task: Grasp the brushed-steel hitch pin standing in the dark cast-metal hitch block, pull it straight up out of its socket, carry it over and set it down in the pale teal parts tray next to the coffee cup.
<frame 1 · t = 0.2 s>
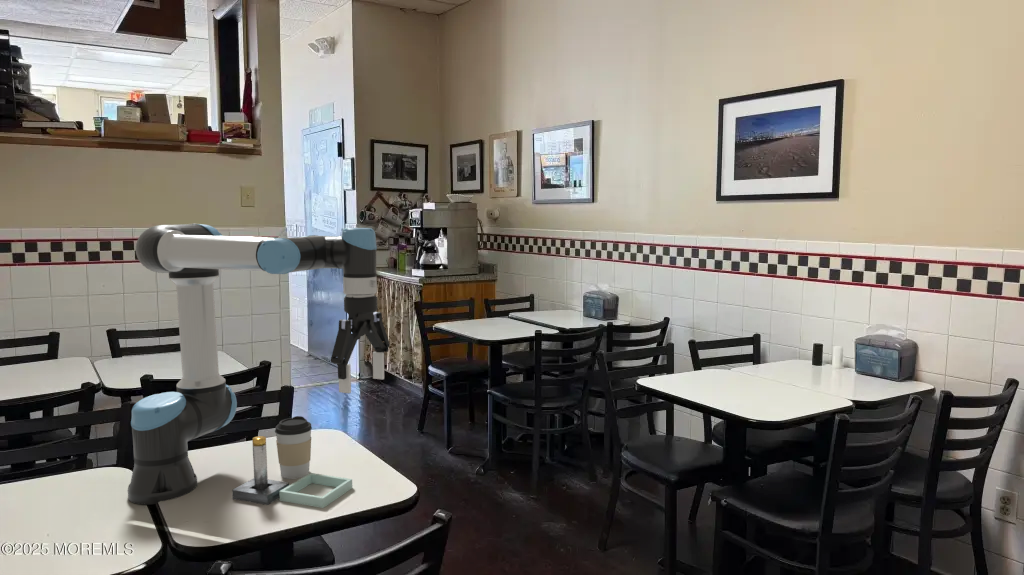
hand: (362, 385, 160), 28 cm above the table, fingers open, 13 cm apart
hitch block: (261, 498, 163), on the table
coffee cup: (295, 477, 177), on the table
pin: (261, 495, 163), point 1 cm above the table, touching hitch block
tray: (316, 497, 164), on the table
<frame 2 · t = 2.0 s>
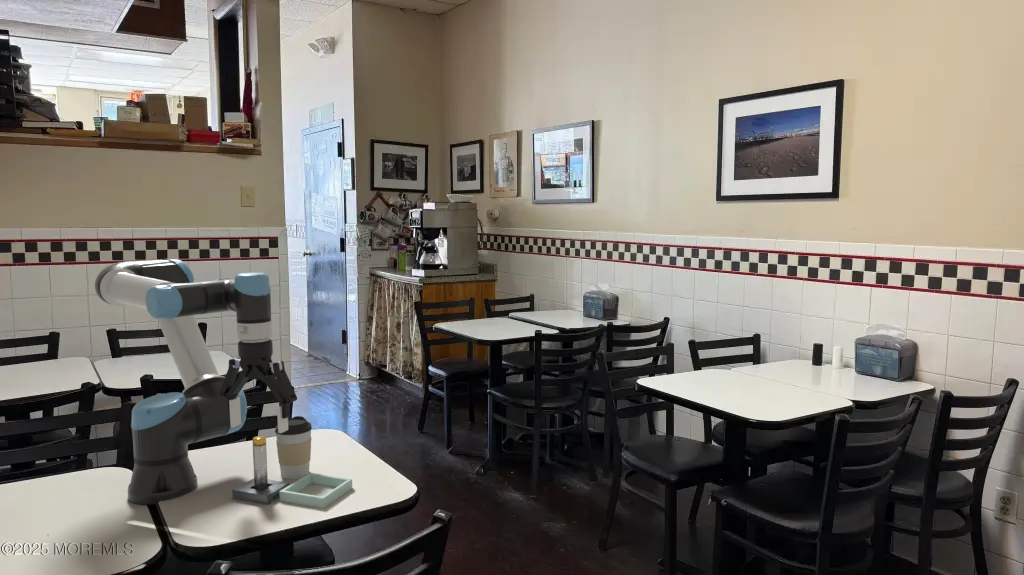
hand: (259, 428, 161), 17 cm above the table, fingers open, 13 cm apart
nothing on the table moved.
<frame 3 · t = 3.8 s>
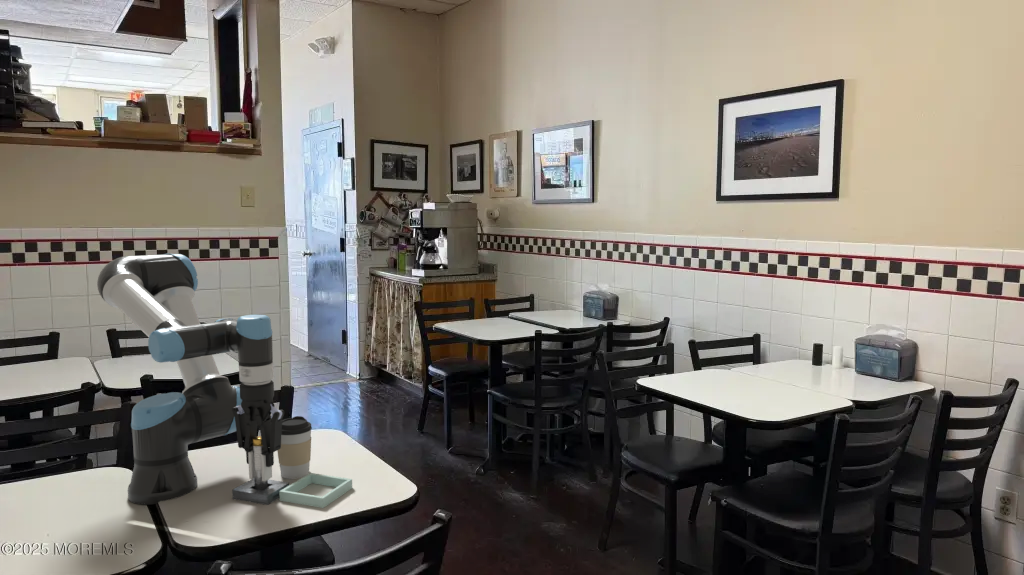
hand: (260, 477, 163), 5 cm above the table, fingers closed on pin, 3 cm apart
pin: (261, 495, 163), point 1 cm above the table, touching gripper, hitch block
everything else where it was.
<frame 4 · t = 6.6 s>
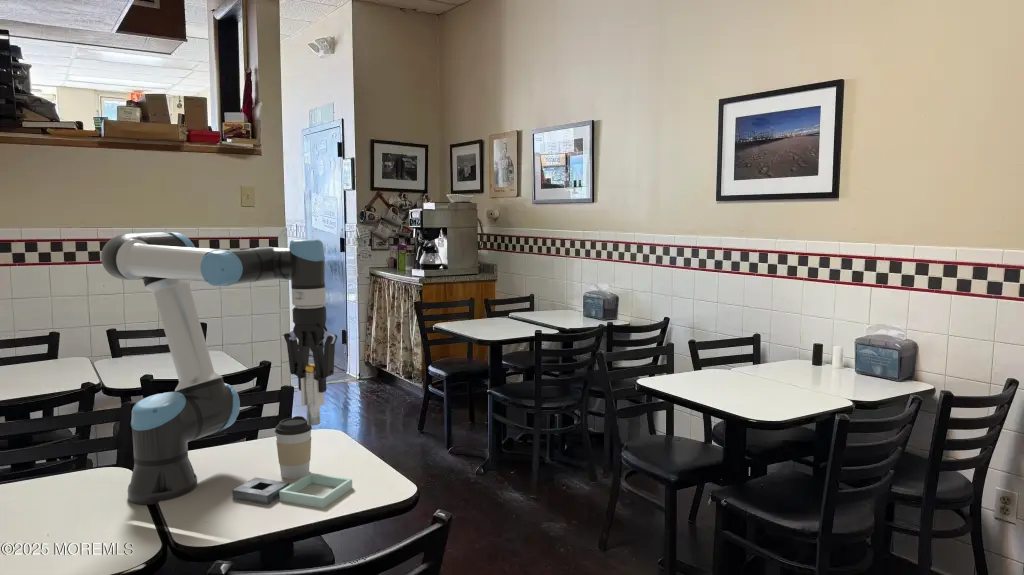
hand: (313, 404, 161), 23 cm above the table, fingers closed on pin, 3 cm apart
pin: (313, 423, 162), point 18 cm above the table, touching gripper
everything else where it was.
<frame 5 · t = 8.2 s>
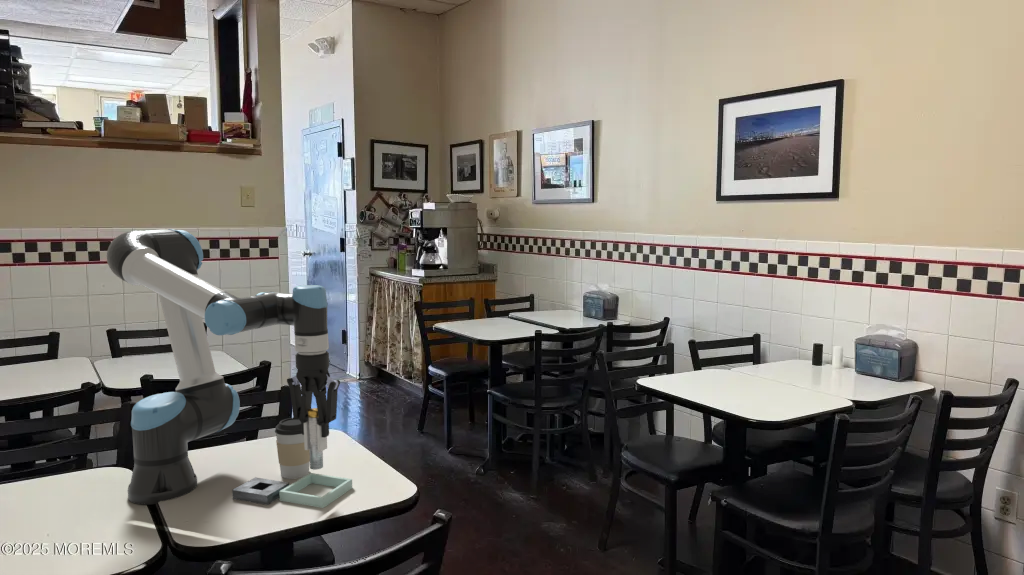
hand: (315, 448, 163), 12 cm above the table, fingers closed on pin, 3 cm apart
pin: (316, 467, 163), point 7 cm above the table, touching gripper
everything else where it was.
when the fingers open (6 cm above the table, at t = 9.4 s): pin stays where it is, resting on tray.
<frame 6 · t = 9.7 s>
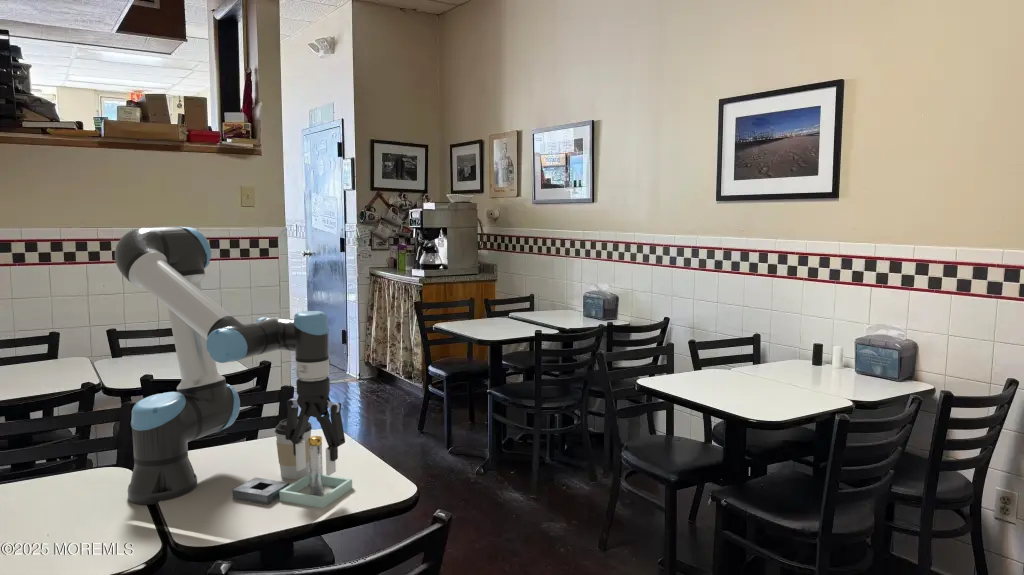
hand: (316, 471, 163), 6 cm above the table, fingers open, 8 cm apart
pin: (316, 494, 164), point 1 cm above the table, touching tray
everything else where it was.
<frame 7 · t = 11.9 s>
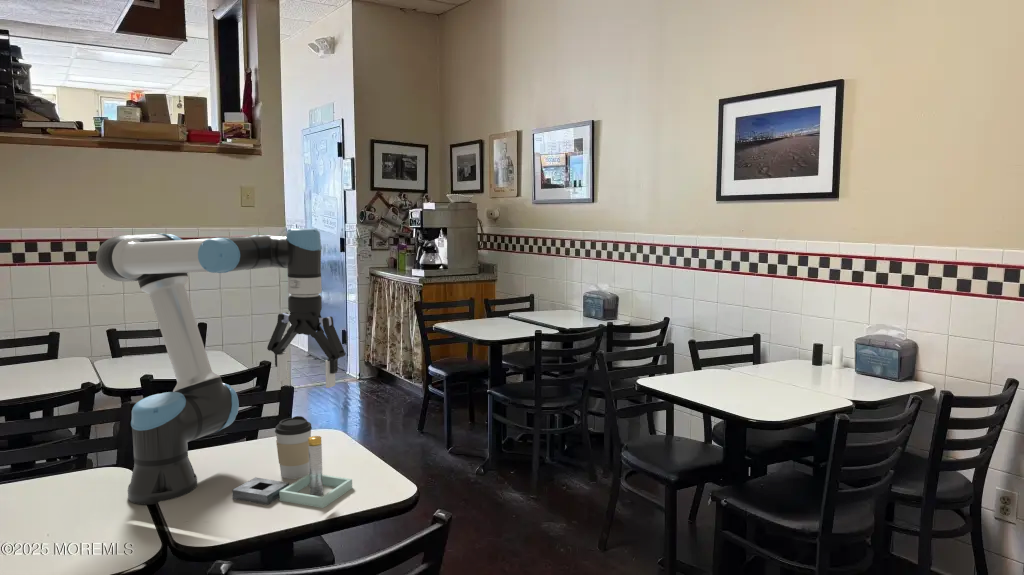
hand: (306, 383, 163), 27 cm above the table, fingers open, 13 cm apart
nothing on the table moved.
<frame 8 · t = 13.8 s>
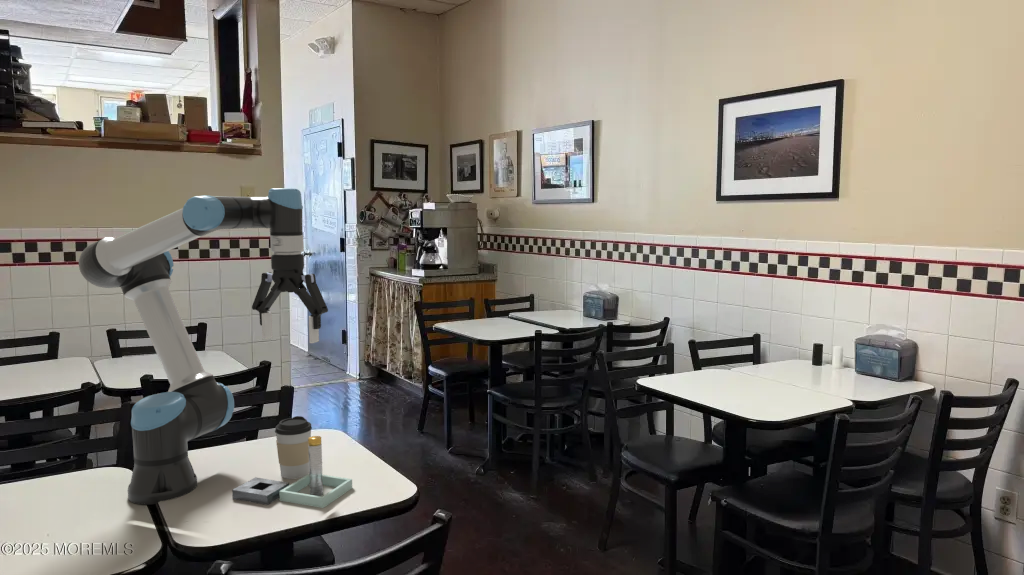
hand: (290, 340, 167), 37 cm above the table, fingers open, 13 cm apart
nothing on the table moved.
at the end: pin inside the target area on the tray (0.0 cm from its centre), point 0.6 cm above the tray's base; the gripper is holding nothing; pin touching tray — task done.
